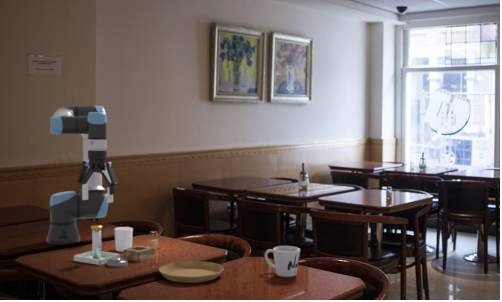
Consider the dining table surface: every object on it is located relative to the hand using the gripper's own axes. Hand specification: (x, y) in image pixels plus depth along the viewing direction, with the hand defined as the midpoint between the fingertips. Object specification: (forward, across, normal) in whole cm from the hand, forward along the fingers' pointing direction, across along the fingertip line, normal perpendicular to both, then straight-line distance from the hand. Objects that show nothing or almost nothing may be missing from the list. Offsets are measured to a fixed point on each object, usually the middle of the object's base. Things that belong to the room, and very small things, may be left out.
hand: (97, 201), depth 257 cm
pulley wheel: (+25, +13, -3) cm, 28 cm away
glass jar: (+24, +1, -1) cm, 24 cm away
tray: (+25, +1, -1) cm, 25 cm away
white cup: (+25, -2, +19) cm, 31 cm away
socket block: (+25, +14, +10) cm, 30 cm away
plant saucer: (+25, +47, -1) cm, 53 cm away
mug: (+25, +75, +19) cm, 81 cm away
